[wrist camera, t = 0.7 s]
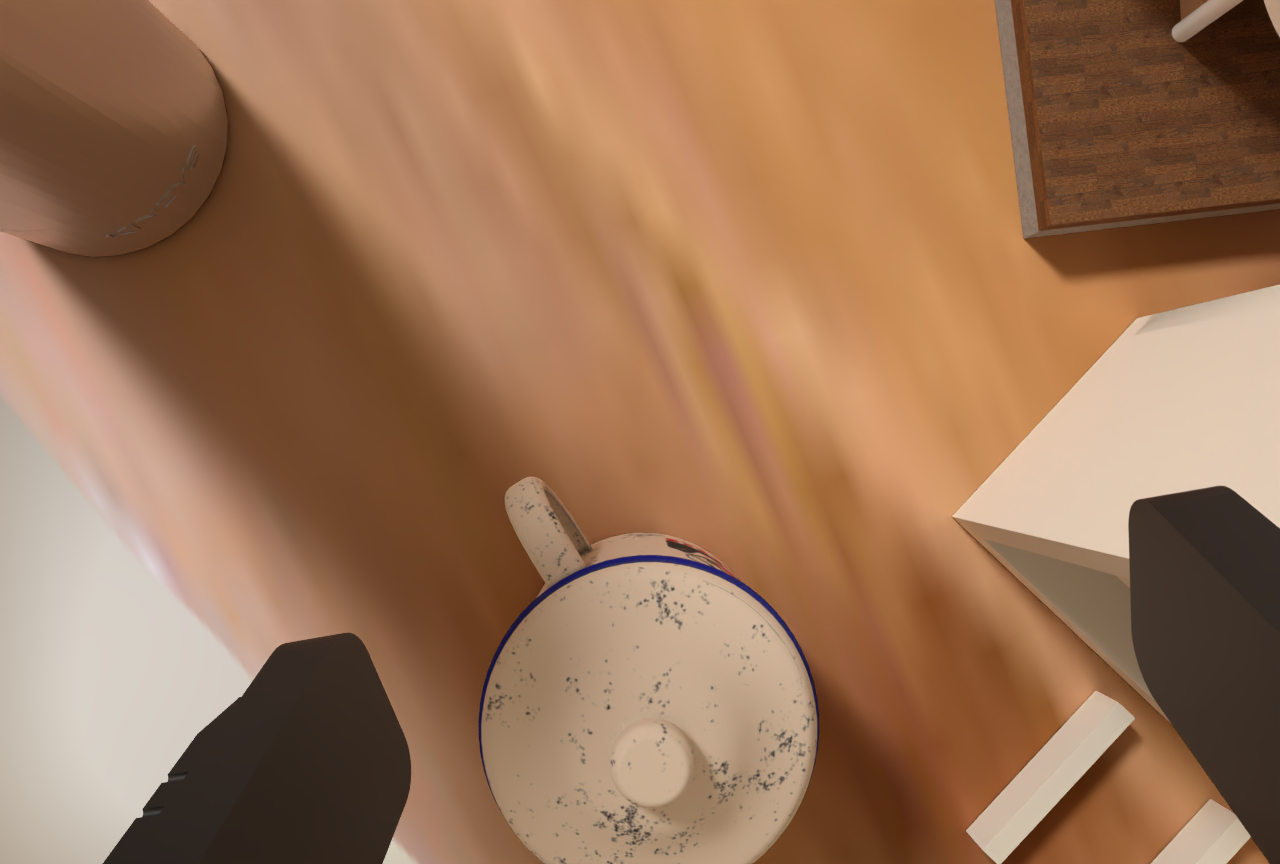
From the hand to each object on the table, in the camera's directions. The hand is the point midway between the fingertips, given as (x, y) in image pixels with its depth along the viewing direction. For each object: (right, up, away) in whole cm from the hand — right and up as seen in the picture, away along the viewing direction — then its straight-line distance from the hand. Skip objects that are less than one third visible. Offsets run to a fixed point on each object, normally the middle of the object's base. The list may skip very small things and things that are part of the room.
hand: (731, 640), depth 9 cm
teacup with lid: (-2, -4, +23) cm, 23 cm away
